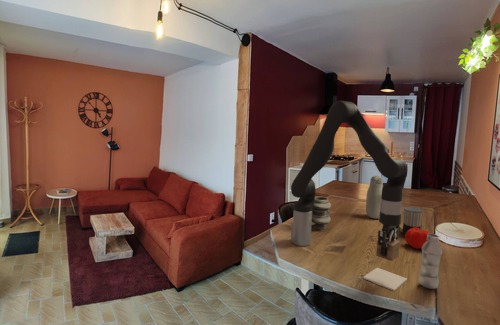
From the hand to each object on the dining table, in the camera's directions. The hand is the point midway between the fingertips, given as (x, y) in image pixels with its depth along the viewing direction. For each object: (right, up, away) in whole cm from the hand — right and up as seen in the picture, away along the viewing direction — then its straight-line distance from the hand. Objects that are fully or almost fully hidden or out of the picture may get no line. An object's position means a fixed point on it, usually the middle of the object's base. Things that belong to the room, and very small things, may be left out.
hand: (387, 253), depth 115 cm
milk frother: (+33, -5, +53) cm, 63 cm away
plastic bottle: (+14, -12, -3) cm, 18 cm away
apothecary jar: (-13, -3, +59) cm, 60 cm away
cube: (0, -1, 0) cm, 1 cm away
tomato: (+31, -7, +34) cm, 46 cm away
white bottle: (+28, -1, +80) cm, 84 cm away
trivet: (0, -11, +1) cm, 11 cm away
